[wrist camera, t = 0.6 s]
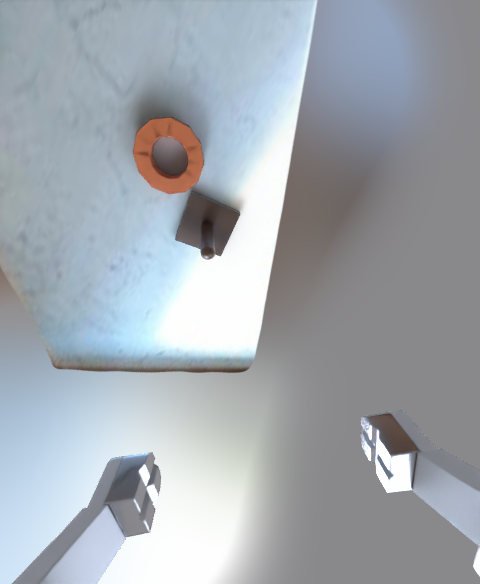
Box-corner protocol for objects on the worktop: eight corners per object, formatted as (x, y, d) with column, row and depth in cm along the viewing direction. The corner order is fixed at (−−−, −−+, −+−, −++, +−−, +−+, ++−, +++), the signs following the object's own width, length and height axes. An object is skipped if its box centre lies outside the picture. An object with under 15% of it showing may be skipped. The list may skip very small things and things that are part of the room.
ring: (146, 103, 38) (142, 103, 36) (211, 138, 42) (212, 139, 39) (131, 173, 44) (127, 176, 41) (191, 198, 47) (190, 203, 45)
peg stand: (191, 190, 46) (187, 214, 35) (239, 211, 50) (249, 239, 39) (175, 237, 51) (168, 271, 40) (220, 253, 55) (224, 288, 44)
